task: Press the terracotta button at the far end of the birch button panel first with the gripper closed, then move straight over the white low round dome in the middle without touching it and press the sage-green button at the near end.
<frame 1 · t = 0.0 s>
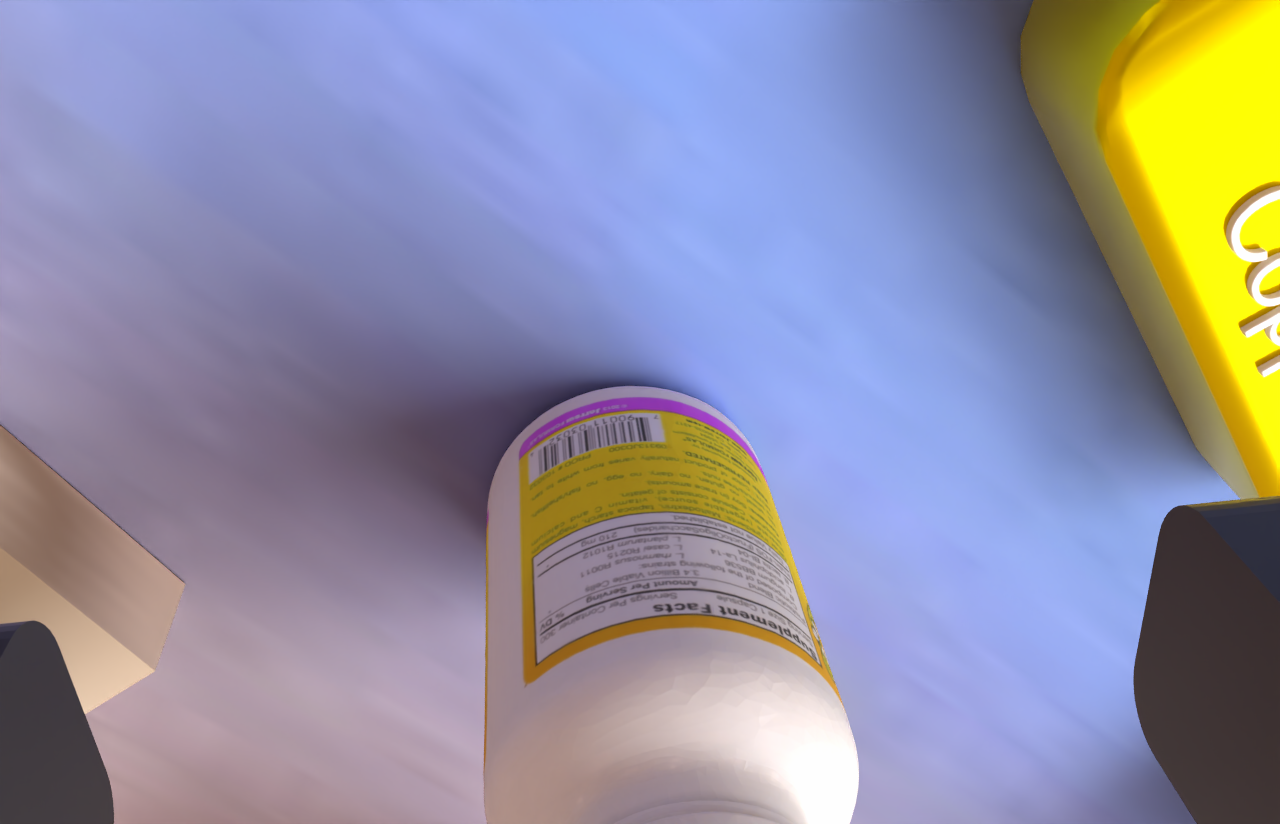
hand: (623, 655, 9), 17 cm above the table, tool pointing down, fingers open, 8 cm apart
supplement bottle: (626, 487, 29), on the table
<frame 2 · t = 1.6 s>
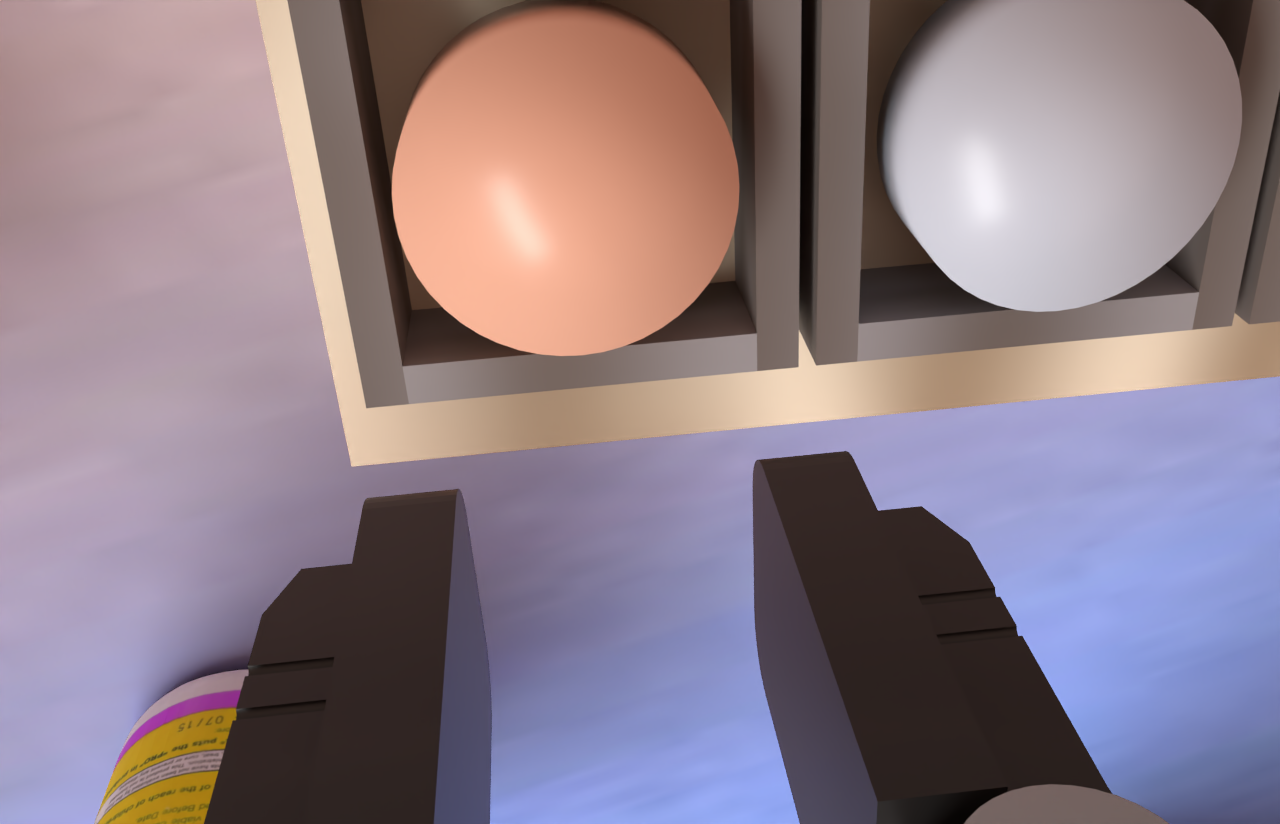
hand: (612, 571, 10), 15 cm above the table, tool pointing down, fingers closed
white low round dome: (1051, 139, 19), point 5 cm above the table, slide at 0.0 cm
button panel: (944, 58, 23), on the table
button terracotta: (565, 180, 18), point 5 cm above the table, slide at 0.0 cm
supplement bottle: (267, 753, 31), on the table
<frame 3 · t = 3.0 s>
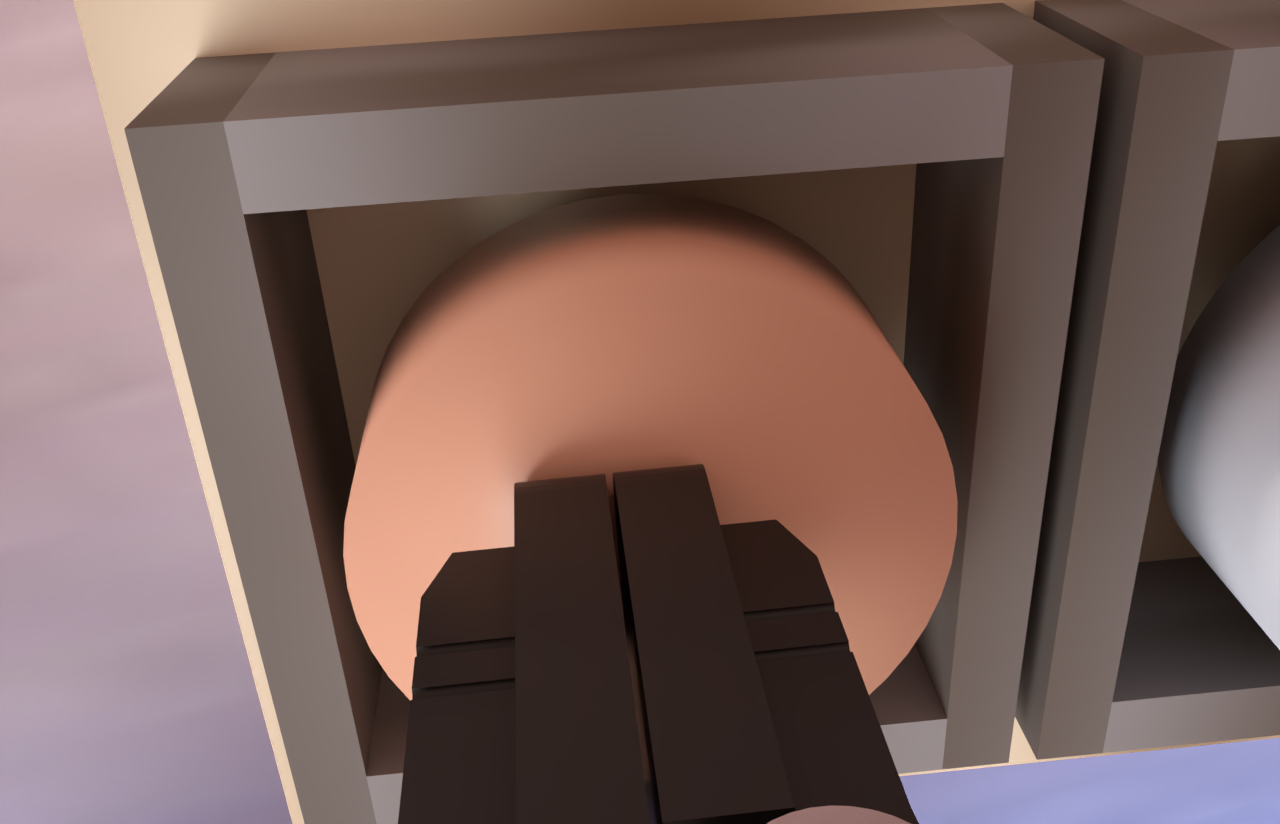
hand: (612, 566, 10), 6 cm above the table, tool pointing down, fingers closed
button panel: (1192, 228, 16), on the table
button terracotta: (646, 499, 11), point 5 cm above the table, slide at 0.2 cm, touching gripper
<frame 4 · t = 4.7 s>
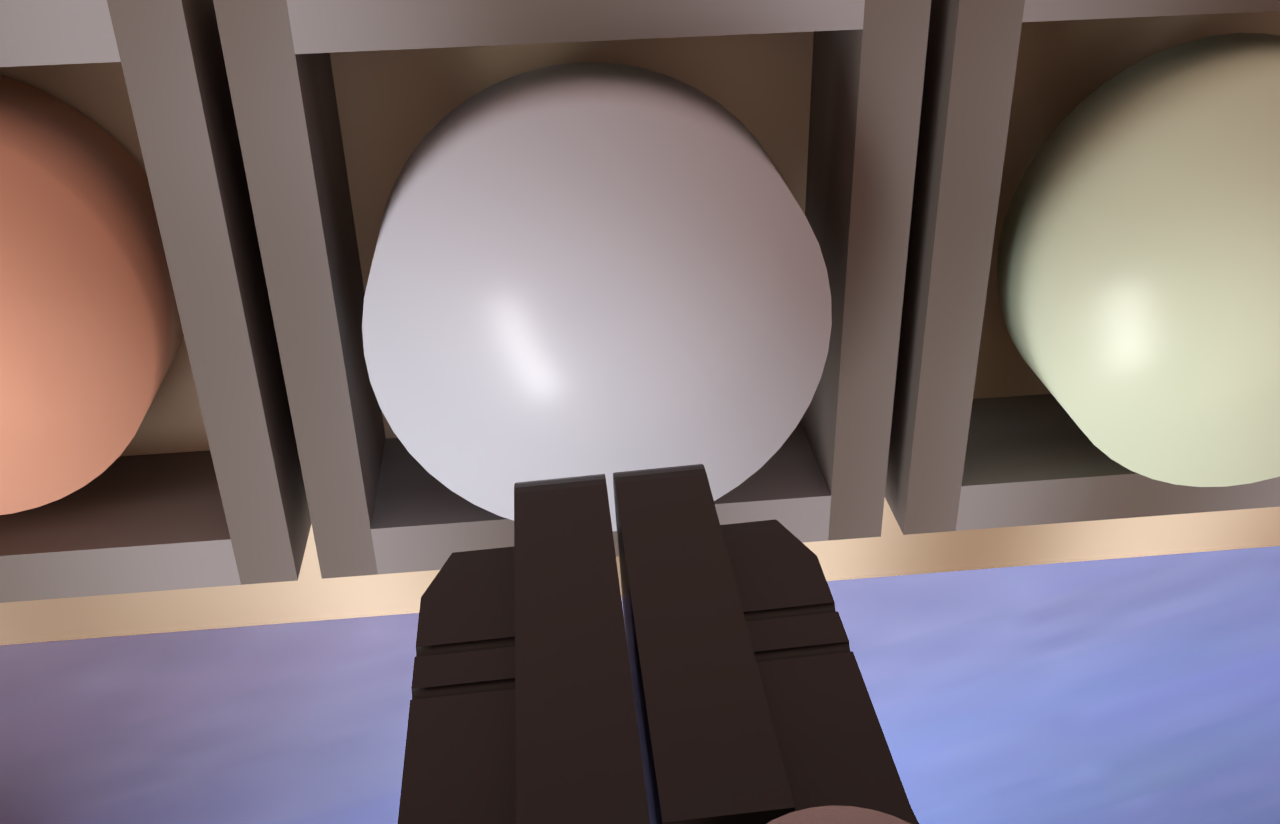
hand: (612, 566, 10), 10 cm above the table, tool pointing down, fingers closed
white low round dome: (595, 304, 14), point 5 cm above the table, slide at 0.0 cm
button sage: (1232, 266, 14), point 5 cm above the table, slide at 0.0 cm
button panel: (572, 159, 18), on the table
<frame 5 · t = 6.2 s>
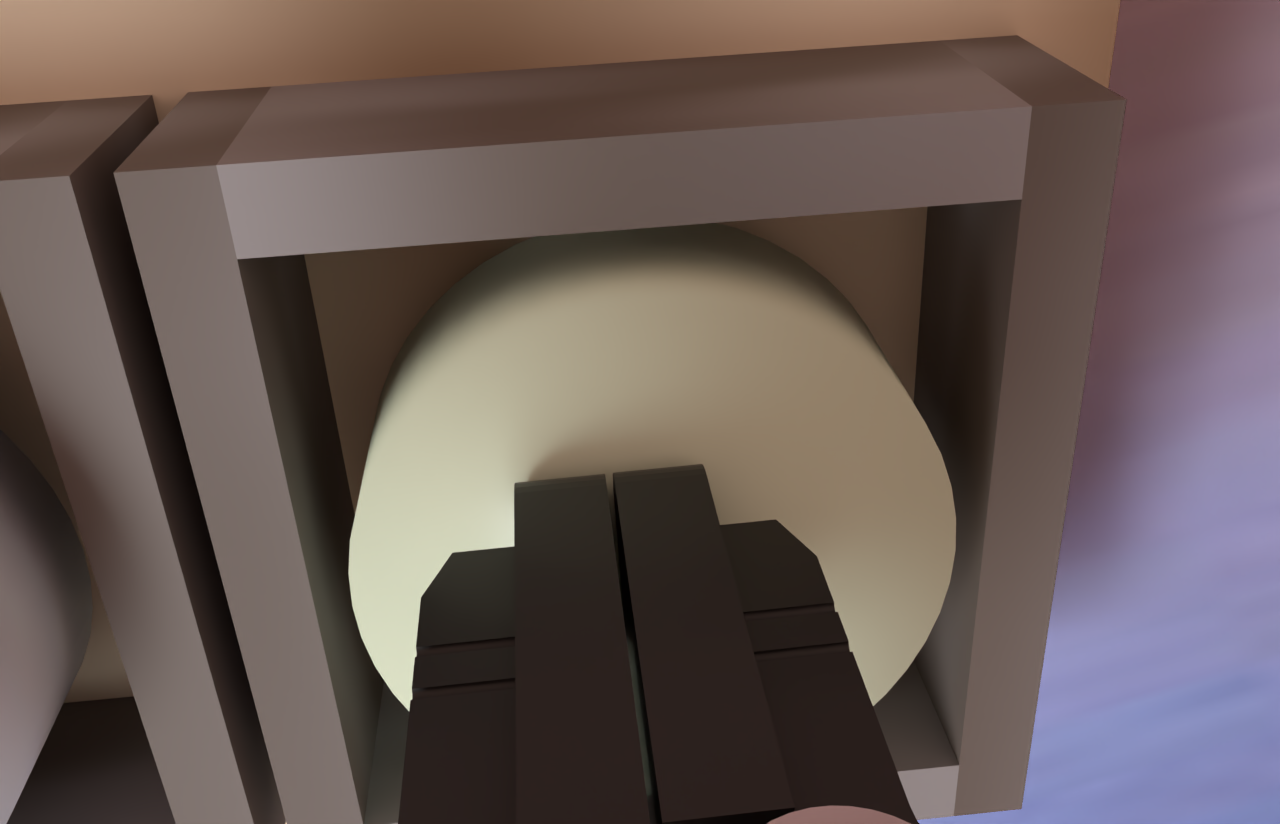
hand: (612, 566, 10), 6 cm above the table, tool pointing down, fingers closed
button sage: (647, 517, 11), point 5 cm above the table, slide at 0.6 cm, touching gripper
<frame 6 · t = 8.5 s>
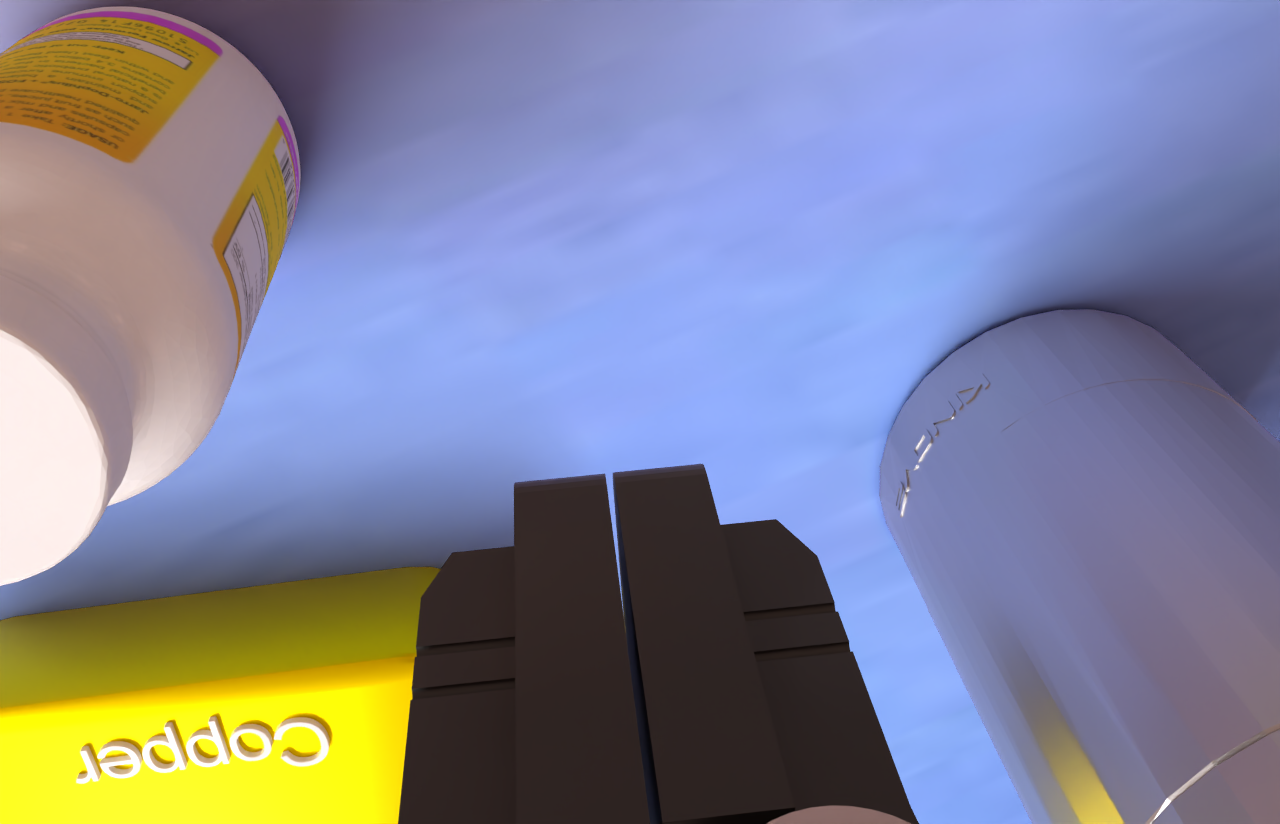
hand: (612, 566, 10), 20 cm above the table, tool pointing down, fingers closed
element tile: (279, 769, 38), on the table
supplement bottle: (156, 150, 27), on the table
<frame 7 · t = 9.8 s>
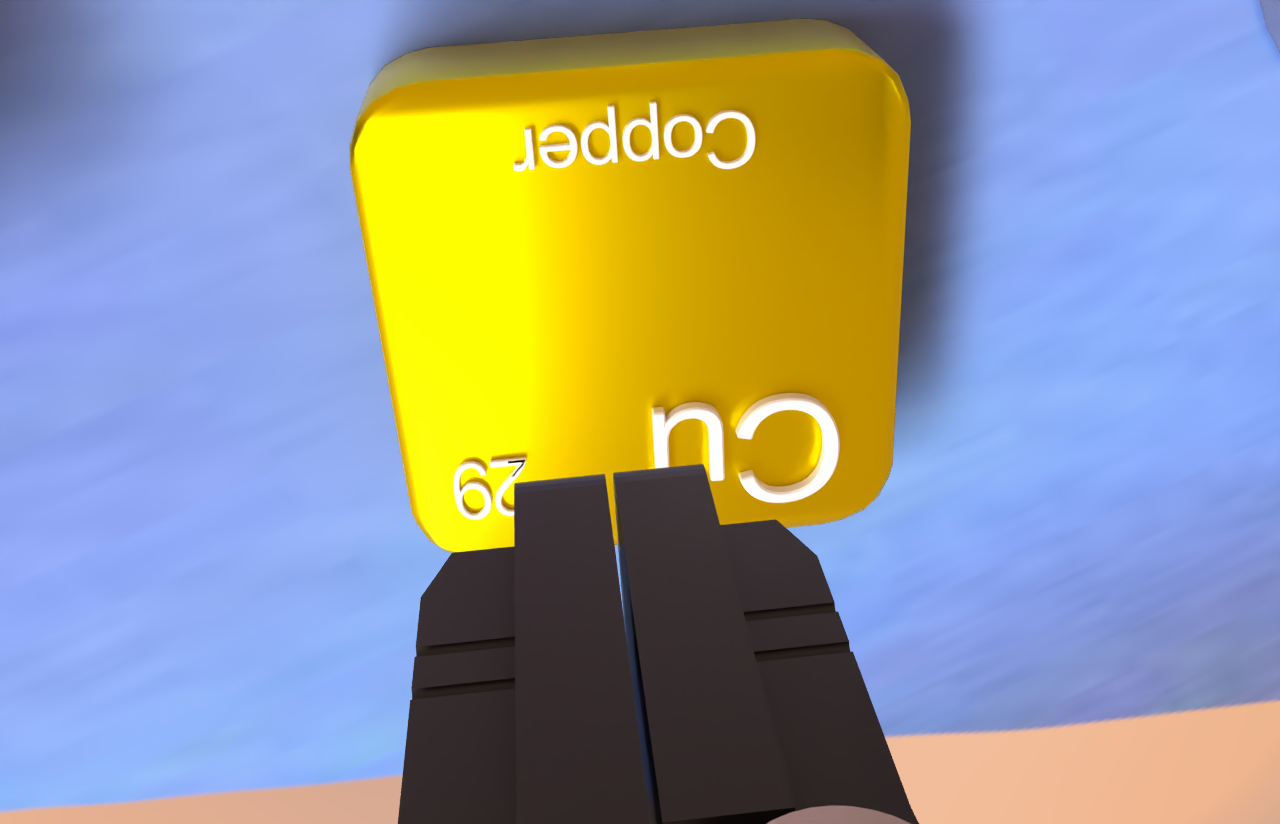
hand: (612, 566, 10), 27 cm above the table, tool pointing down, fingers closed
element tile: (631, 270, 39), on the table
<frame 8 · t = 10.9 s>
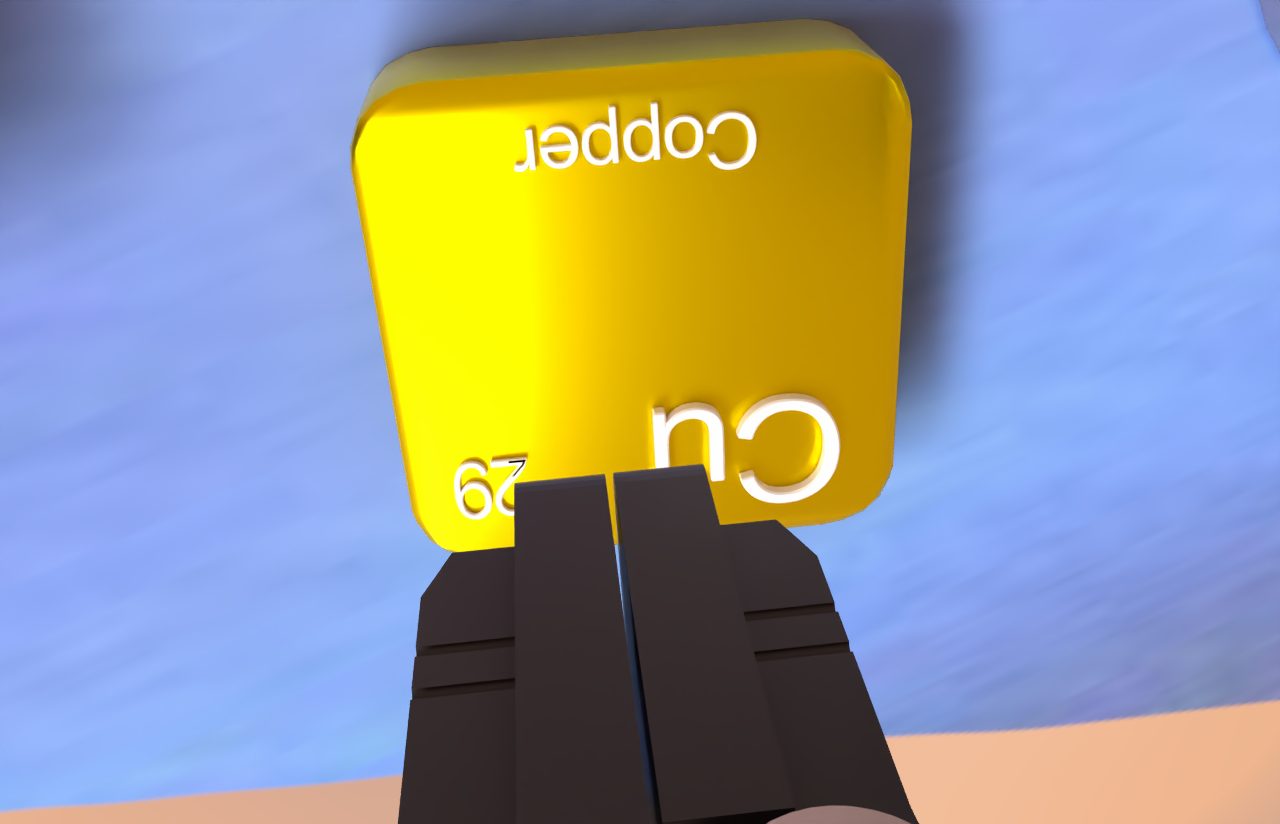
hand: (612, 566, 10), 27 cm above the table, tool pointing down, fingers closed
element tile: (632, 270, 39), on the table
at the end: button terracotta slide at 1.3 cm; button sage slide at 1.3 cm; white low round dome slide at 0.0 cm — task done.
